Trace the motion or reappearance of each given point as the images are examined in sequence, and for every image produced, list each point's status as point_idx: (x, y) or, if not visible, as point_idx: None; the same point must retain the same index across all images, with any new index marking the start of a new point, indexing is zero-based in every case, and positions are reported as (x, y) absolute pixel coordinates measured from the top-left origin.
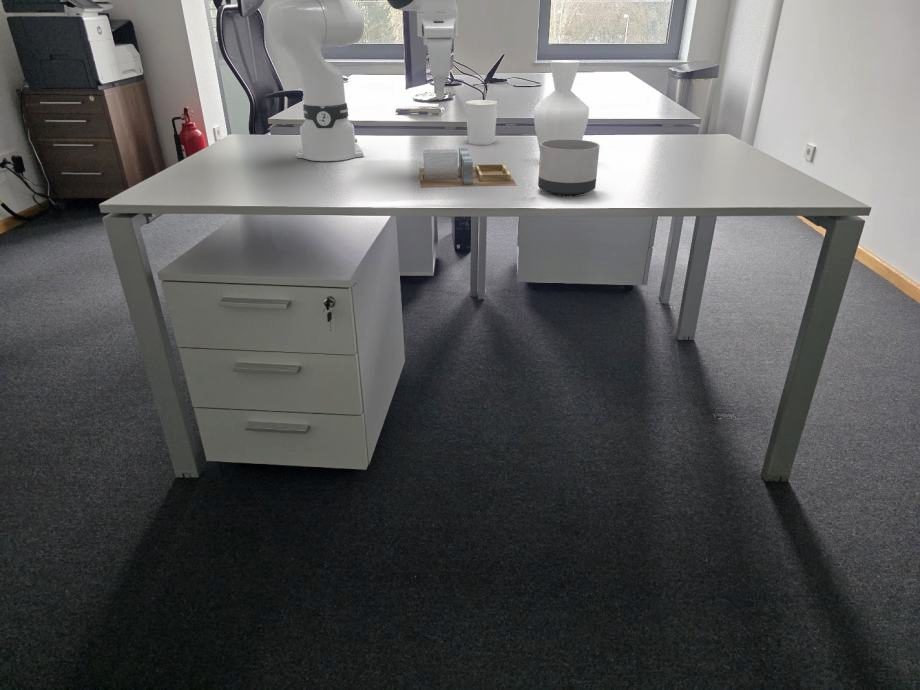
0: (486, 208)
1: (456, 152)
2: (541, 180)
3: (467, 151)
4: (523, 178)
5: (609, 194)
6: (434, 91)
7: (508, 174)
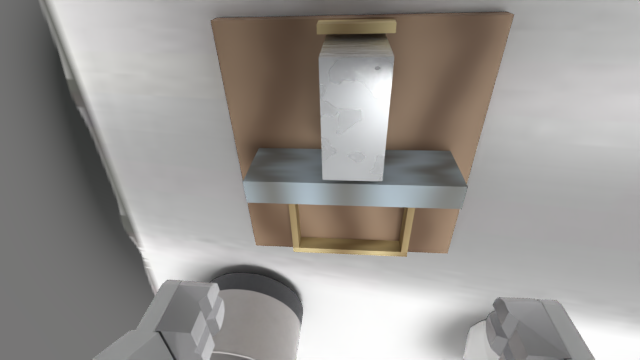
0: (110, 169)
1: (322, 176)
2: (226, 286)
3: (406, 205)
4: (363, 262)
5: None
6: (545, 310)
7: (293, 248)
